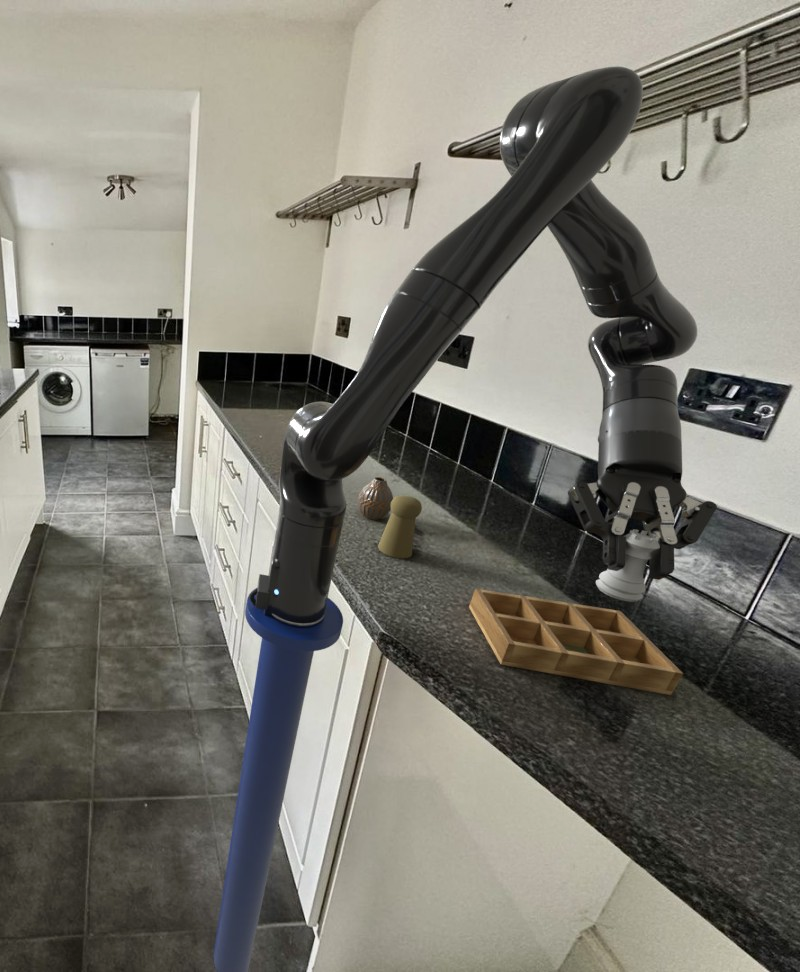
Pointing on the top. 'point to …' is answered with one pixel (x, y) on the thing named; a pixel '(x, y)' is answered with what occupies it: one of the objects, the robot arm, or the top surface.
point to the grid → (572, 641)
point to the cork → (400, 527)
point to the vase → (375, 499)
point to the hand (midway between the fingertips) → (637, 572)
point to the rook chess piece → (630, 568)
